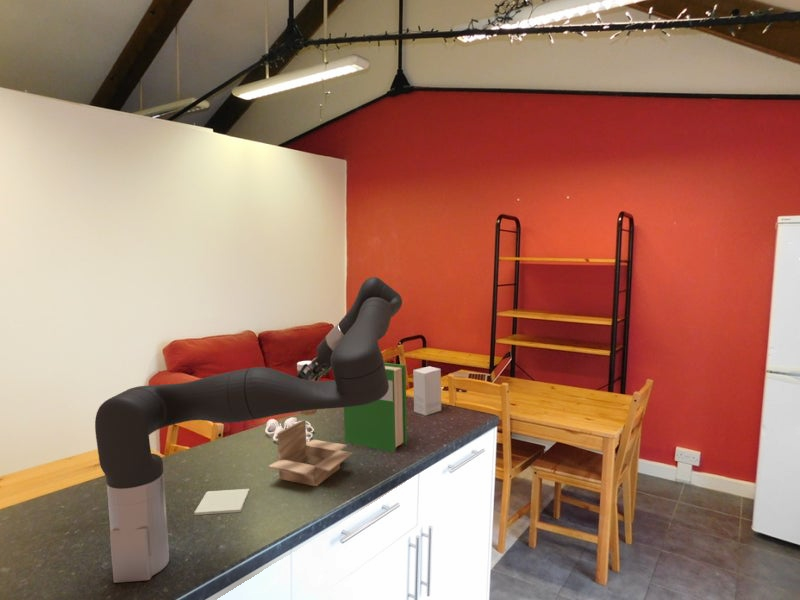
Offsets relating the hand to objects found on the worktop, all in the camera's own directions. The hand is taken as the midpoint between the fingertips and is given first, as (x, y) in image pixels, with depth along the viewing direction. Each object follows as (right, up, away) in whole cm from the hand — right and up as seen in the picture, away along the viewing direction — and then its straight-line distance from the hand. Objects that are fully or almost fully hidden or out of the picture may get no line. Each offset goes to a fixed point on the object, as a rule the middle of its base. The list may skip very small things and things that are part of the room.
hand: (300, 387), depth 130 cm
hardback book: (+18, -21, +22) cm, 35 cm away
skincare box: (+36, -18, +51) cm, 64 cm away
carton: (+4, -23, +1) cm, 23 cm away
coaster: (-15, -25, -13) cm, 32 cm away
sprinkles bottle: (+2, -7, 0) cm, 7 cm away
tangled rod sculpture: (-9, -21, +30) cm, 37 cm away
